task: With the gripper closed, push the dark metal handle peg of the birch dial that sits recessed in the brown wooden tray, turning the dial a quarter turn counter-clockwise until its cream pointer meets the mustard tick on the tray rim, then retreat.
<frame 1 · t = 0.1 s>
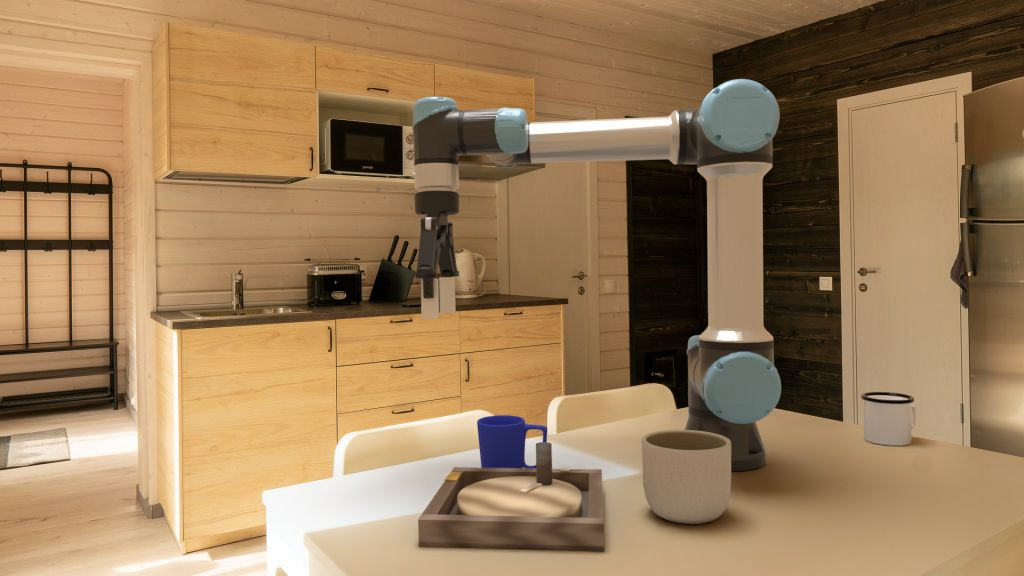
hand: (439, 316, 121), 28 cm above the table, fingers open, 13 cm apart
planter: (686, 516, 102), on the table
brown wooden tray: (519, 515, 103), on the table
mug: (513, 479, 121), on the table
mug 2: (892, 441, 142), on the table
dial: (519, 482, 103), point 5 cm above the table, hinge at 0.0°
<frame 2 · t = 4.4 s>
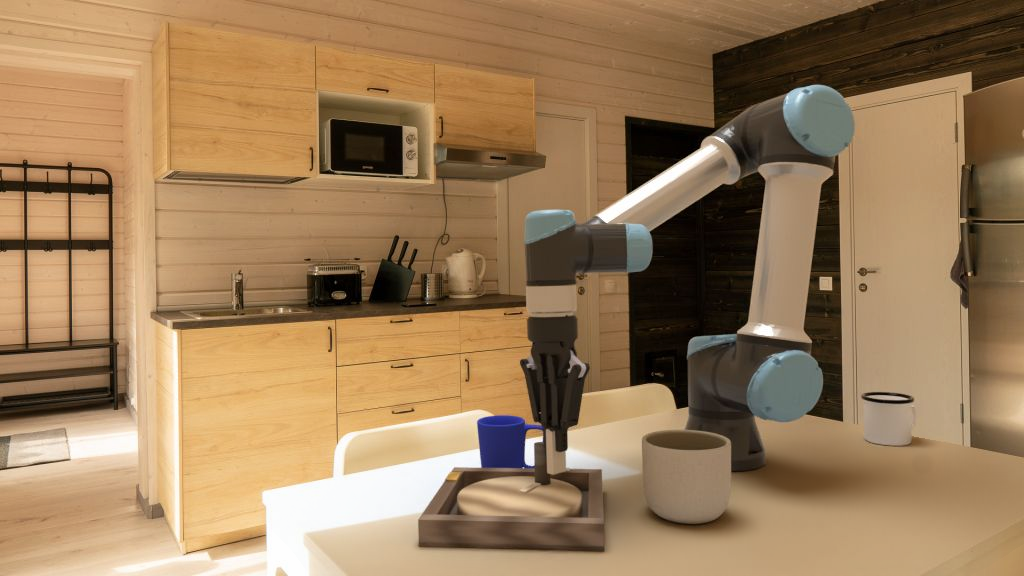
hand: (556, 471, 106), 5 cm above the table, fingers closed
dial: (519, 482, 103), point 5 cm above the table, hinge at 2.8°, touching gripper
everything else where it was.
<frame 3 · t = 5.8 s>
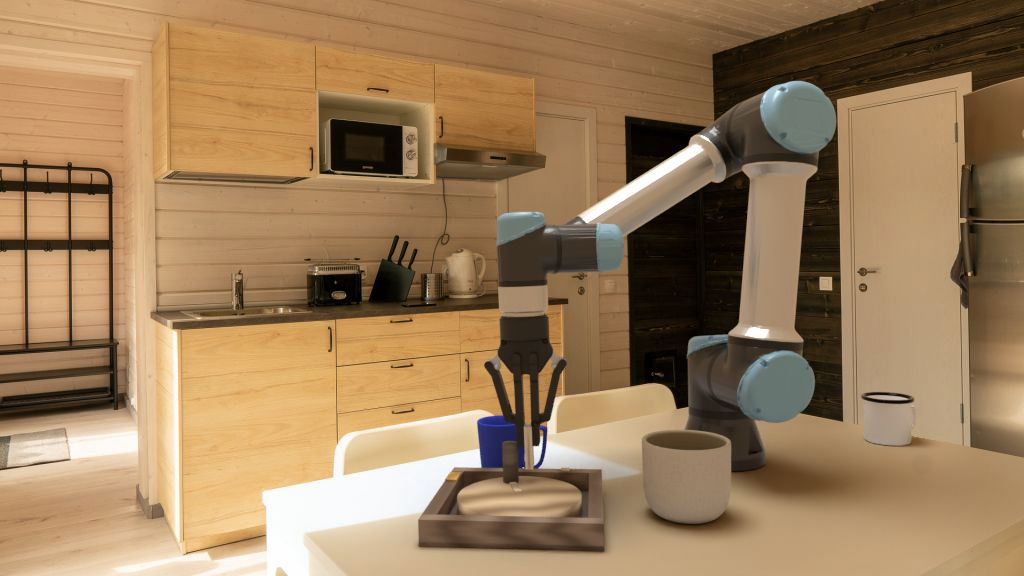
hand: (529, 466, 109), 5 cm above the table, fingers closed
dial: (519, 482, 103), point 5 cm above the table, hinge at 47.6°, touching gripper
everything else where it was.
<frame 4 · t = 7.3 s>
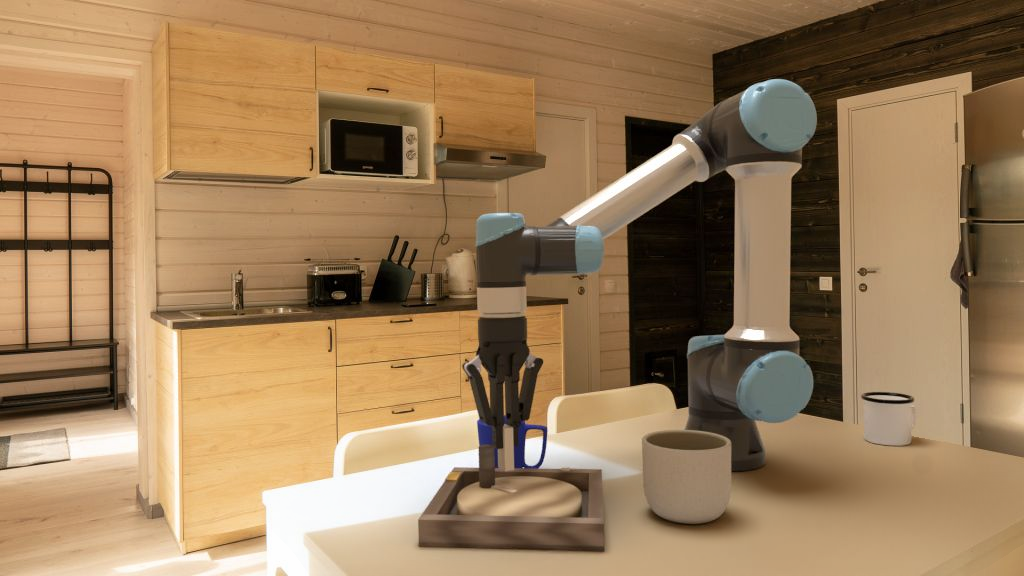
hand: (506, 468, 109), 5 cm above the table, fingers closed
dial: (519, 482, 103), point 5 cm above the table, hinge at 84.2°
everything else where it was.
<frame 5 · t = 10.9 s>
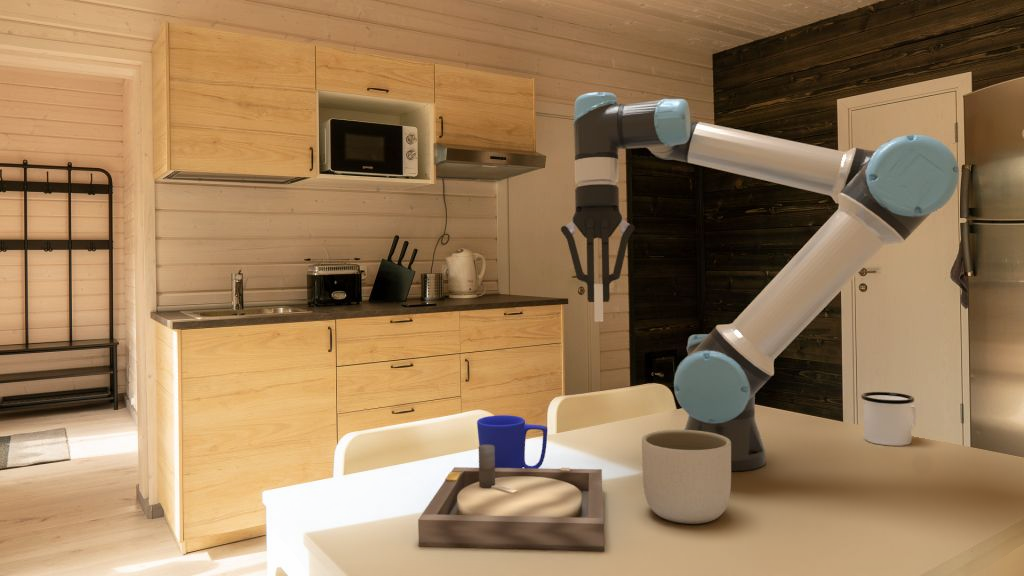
hand: (598, 321, 124), 26 cm above the table, fingers closed
nothing on the table moved.
at the end: dial at +84° (first picture: +0°) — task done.
